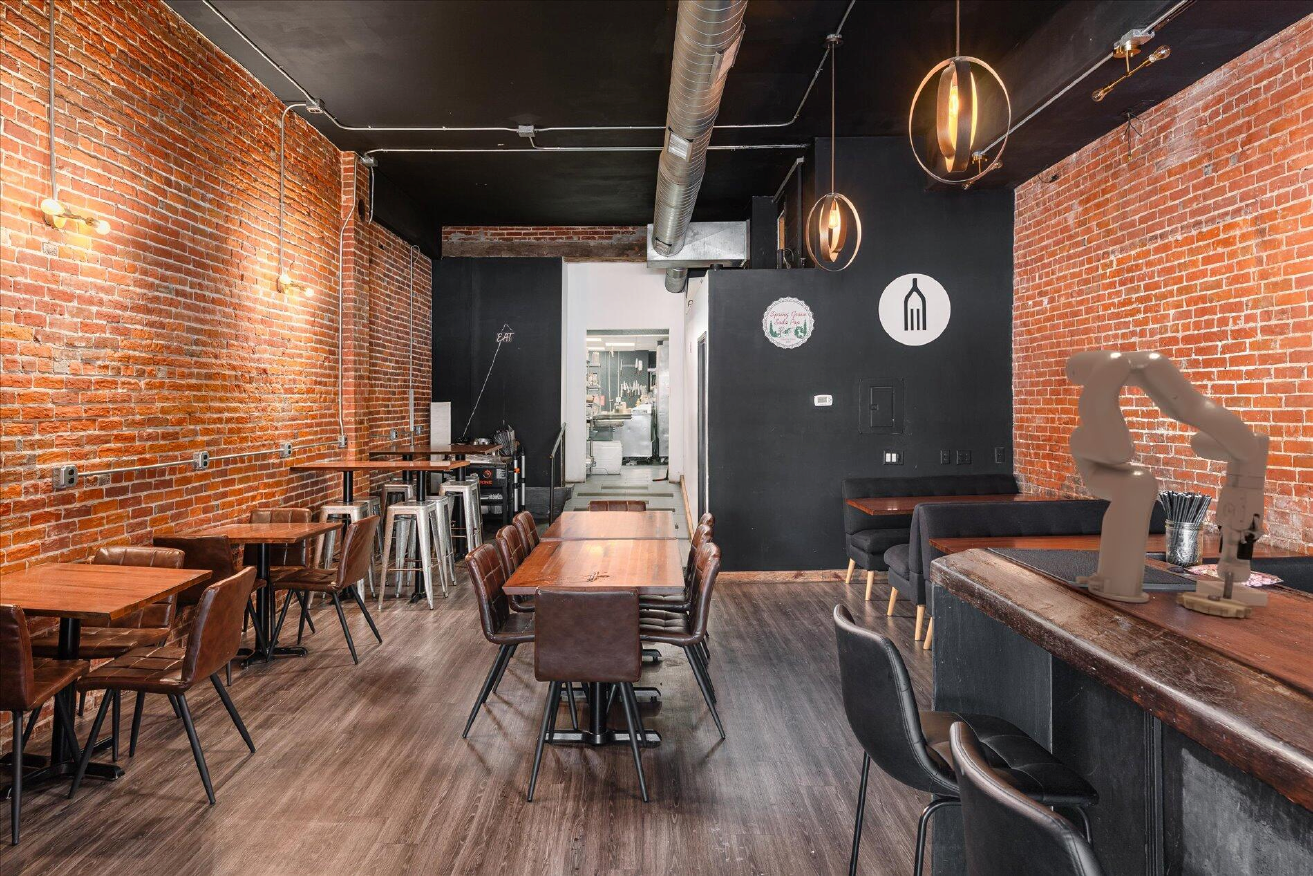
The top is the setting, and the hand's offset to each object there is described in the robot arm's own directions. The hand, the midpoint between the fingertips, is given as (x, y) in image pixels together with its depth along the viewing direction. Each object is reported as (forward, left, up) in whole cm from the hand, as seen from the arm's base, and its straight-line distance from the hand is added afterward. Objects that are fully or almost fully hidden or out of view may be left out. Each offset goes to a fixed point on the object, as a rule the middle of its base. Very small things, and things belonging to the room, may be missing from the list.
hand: (1235, 555), depth 184 cm
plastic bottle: (0, 0, -7) cm, 7 cm away
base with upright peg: (-12, -11, -11) cm, 19 cm away
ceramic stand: (0, 0, -11) cm, 11 cm away
